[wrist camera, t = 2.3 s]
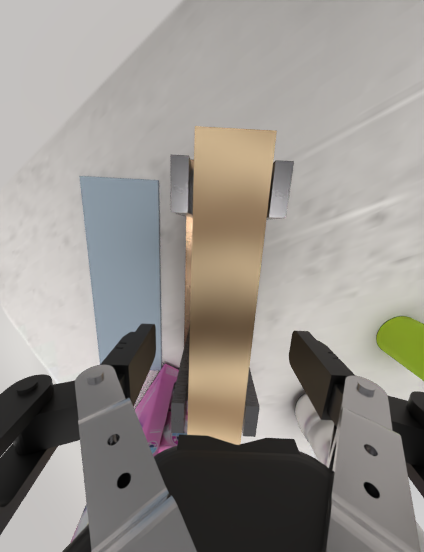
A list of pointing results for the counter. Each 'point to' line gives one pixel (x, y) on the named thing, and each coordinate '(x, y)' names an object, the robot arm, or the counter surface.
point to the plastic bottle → (323, 437)
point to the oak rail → (225, 272)
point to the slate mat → (123, 257)
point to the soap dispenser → (404, 343)
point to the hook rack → (184, 206)
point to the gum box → (153, 420)
